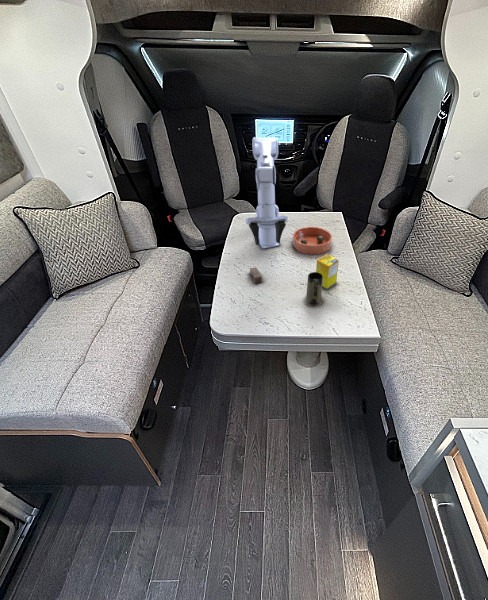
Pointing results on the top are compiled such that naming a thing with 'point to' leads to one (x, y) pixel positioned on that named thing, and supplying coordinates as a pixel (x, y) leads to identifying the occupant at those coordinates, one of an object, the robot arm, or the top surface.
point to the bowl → (312, 240)
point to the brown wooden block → (255, 275)
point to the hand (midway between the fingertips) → (267, 243)
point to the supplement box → (327, 270)
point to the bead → (320, 239)
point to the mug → (314, 289)
